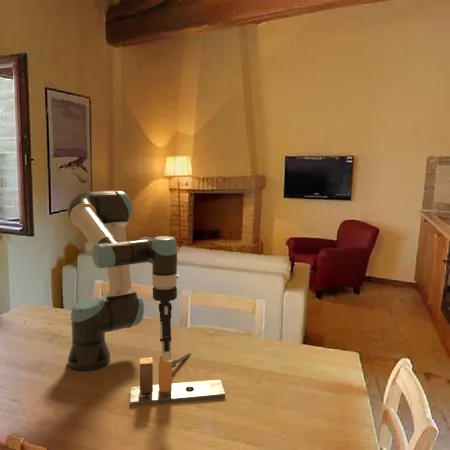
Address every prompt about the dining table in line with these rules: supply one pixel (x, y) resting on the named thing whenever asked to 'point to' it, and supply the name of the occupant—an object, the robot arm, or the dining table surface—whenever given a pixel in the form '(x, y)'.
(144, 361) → the bar
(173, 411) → the dining table surface
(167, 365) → the slide leg
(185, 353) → the caliper
